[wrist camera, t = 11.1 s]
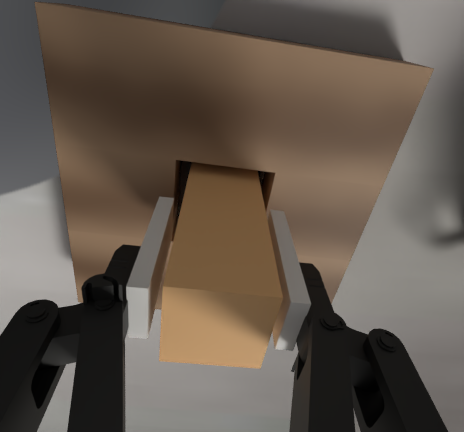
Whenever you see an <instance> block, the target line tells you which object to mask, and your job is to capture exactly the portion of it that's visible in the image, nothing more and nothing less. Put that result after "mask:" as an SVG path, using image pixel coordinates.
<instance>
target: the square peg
mask: <svg viewBox="0 0 464 432" xmlns="http://www.w3.org/2000/svg"><path fill="white" fill-rule="evenodd" d="M282 299H283V295H282V290H281V285H280V280H279V275H278V270H277V265H276V260H275V255H274V250H273V245H272V240H271V235H270V230H269V225H268V220H267V215H266V210H265V205H264V200H263V195H262V190H261V185H260V180H259V175H258V170H250V169H243V168H235V167H227V166H220V165H212V164H204V163H197V162H192V163H191V167H190V172H189V176H188V180H187V184H186V189H185V193H184V197H183V202H182V206H181V210H180V214H179V219H178V223H177V227H176V232H175V236H174V240H173V244H172V249H171V253H170V257H169V262H168V266H167V270H166V274H165V279H164V283H163V291H162V313H161V335H160V357H159V361H165V362H179V363H192V364H206V365H219V366H233V367H246V368H261V365H262V362H263V358H264V355H265V352H266V349H267V346H268V343H269V340H270V337H271V334H272V330H273V327H274V324H275V321H276V318H277V315H278V312H279V309H280V306H281V302H282Z"/></svg>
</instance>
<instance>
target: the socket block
mask: <svg viewBox="0 0 464 432" xmlns="http://www.w3.org/2000/svg"><path fill="white" fill-rule="evenodd" d="M35 8H36V14H37V21H38V29H39V35H40V42H41V49H42V56H43V62H44V70H45V76H46V83H47V90H48V96H49V104H50V111H51V117H52V124H53V131H54V138H55V145H56V152H57V159H58V165H59V172H60V179H61V186H62V193H63V200H64V207H65V213H66V220H67V227H68V234H69V241H70V248H71V254H72V261H73V268H74V275H75V282H76V289H77V295H78V302H83V298H82V290H81V288H82V285H83V283H84V282H85V281H86V280H87V279H88V278H90V277H92V276H94V275H98V274H104V273H105V271H106V269H107V267H108V265H109V263H110V261H111V258H112V256H113V254H114V252H115V251H116V250H117V249H118V248H119V247H120V246H122V245H123V244H125V245H135V246H141V245H142V242H143V240H144V237H145V234H146V231H147V229H148V226H149V223H150V221H151V218H152V215H153V212H154V210H155V207H156V204H157V202H158V199H159V196H160V197H169V198H174V208H173V225H172V240H171V244H170V249H169V253H168V257H167V261H166V265H165V269H164V273H163V277H162V281H161V286H160V290H159V294H158V298H157V302H156V306H155V309H161V310H162V291H163V283H164V279H165V274H166V270H167V266H168V262H169V257H170V253H171V249H172V244H173V240H174V236H175V232H176V227H177V223H178V219H179V216H177V212H178V197H179V182H180V167H181V161H189V162H197V163H204V164H212V165H220V166H227V167H235V168H243V169H250V170H258V171H265V176H264V180H263V185H262V189H261V190H262V195H263V200H264V205H265V210H266V215H267V220H268V217H269V213H270V210H277V211H284V213H285V216H286V220H287V223H288V226H289V230H290V233H291V237H292V240H293V244H294V247H295V250H296V254H297V257H298V261H299V262H302V263H311V264H313V265H314V266H315V267H316V268H317V269H318V270H319V272H320V275H321V277H322V281H323V283H324V286H325V288H326V291H327V294H328V297H329V299H330V302H331V303H332V301H333V299H334V296H335V294H336V292H337V290H338V287H339V285H340V283H341V280H342V278H343V276H344V274H345V271H346V269H347V267H348V264H349V262H350V260H351V258H352V255H353V253H354V251H355V248H356V246H357V244H358V242H359V239H360V237H361V235H362V232H363V230H364V228H365V226H366V223H367V221H368V219H369V216H370V214H371V212H372V210H373V207H374V205H375V203H376V200H377V198H378V196H379V194H380V191H381V189H382V187H383V184H384V182H385V180H386V178H387V175H388V173H389V171H390V168H391V166H392V164H393V162H394V159H395V157H396V155H397V152H398V150H399V148H400V146H401V143H402V141H403V139H404V136H405V134H406V132H407V130H408V127H409V125H410V123H411V120H412V118H413V116H414V114H415V111H416V109H417V107H418V104H419V102H420V100H421V98H422V95H423V93H424V91H425V88H426V86H427V84H428V82H429V79H430V77H431V75H432V72H433V70H434V69H433V68H429V67H425V66H422V65H418V64H414V63H410V62H406V61H401V60H395V59H390V58H384V57H378V56H372V55H366V54H360V53H354V52H348V51H342V50H336V49H330V48H324V47H318V46H312V45H306V44H300V43H294V42H289V41H283V40H277V39H271V38H265V37H259V36H253V35H247V34H241V33H235V32H229V31H223V30H217V29H211V28H205V27H199V26H193V25H188V24H181V23H176V22H170V21H163V20H158V19H151V18H145V17H140V16H134V15H128V14H122V13H116V12H110V11H104V10H98V9H92V8H86V7H80V6H75V5H69V4H59V3H44V2H35Z"/></svg>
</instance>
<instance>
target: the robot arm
mask: <svg viewBox="0 0 464 432" xmlns="http://www.w3.org/2000/svg"><path fill="white" fill-rule="evenodd" d="M173 208H174V198H169V197H160V196H159V199H158V202H157V204H156V207H155V210H154V212H153V215H152V218H151V221H150V223H149V226H148V229H147V231H146V234H145V237H144V240H143V242H142V245H141V246H135V245H125V244H123V245H122V246H120V247H119V248H118V249H117V250H116V251H115V252H114V254H113V256H112V258H111V261H110V263H109V265H108V267H107V269H106V271H105V273H104V274H98V275H94V276H92V277H90V278H88V279H87V280H86V281H85V282H84V283H83V285H82V288H81V290H82V298H83V303H80V304H77V305H73V306H67V307H61V308H58V306H57V304H55V303H54V302H53V301H50V300H36V301H33V302H29V303H27V304H26V305H24V306H22V307H21V308H20V309H19V310H18V311H17V312H16V313H15V315H14V316H13V318H12V319H11V321H10V322H9V324H8V325H7V327H6V328H5V330H4V331H3V333H2V334H1V335H0V432H37V430H38V428H39V425H40V423H41V421H42V418H43V416H44V414H45V412H46V409H47V407H48V405H49V402H50V400H51V398H52V395H53V393H54V391H55V388H56V386H57V384H58V382H59V379H60V377H61V375H62V372H63V370H64V368H65V365H66V364H69V363H74V362H76V368H75V376H74V383H73V391H72V399H71V407H70V415H69V423H68V430H67V432H125V337H126V334H127V330H128V337H131V338H144V339H148V335H149V331H150V327H151V323H152V318H153V314H154V310H155V306H156V302H157V298H158V294H159V290H160V286H161V281H162V277H163V273H164V269H165V265H166V261H167V257H168V253H169V249H170V244H171V240H172V225H173ZM268 225H269V230H270V235H271V240H272V245H273V250H274V255H275V260H276V265H277V270H278V275H279V280H280V285H281V290H282V295H283V299H282V302H281V306H280V309H279V312H278V315H277V318H276V321H275V324H274V327H273V330H272V332H273V339H274V346H275V349H280V350H292V351H293V349H294V347H295V344H296V342H297V346H298V351H299V352H298V355H297V357H296V360H295V362H294V365H293V367H292V370H291V371H292V372H294V370H295V374H294V386H293V397H292V409H291V420H290V432H355V423H354V411H355V414H356V418H357V421H358V424H359V427H360V431H361V432H448V430H447V429H446V427H445V425H444V423H443V421H442V419H441V417H440V415H439V413H438V411H437V409H436V407H435V405H434V403H433V401H432V399H431V397H430V395H429V394H428V392H427V390H426V388H425V386H424V384H423V382H422V380H421V378H420V376H419V374H418V372H417V370H416V368H415V366H414V364H413V362H412V360H411V359H410V357H409V355H408V353H407V351H406V349H405V347H404V345H403V344H402V342H401V341H400V339H399V338H397V337H396V336H395V335H394V334H393V333H391V332H389V331H387V330H383V329H373V330H371V331H370V332H369V334H368V335H367V334H365V333H362V332H359V331H356V330H353V329H351V328H349V327H347V326H346V323H345V322H344V320H343V319H342V318H341V317H340V316H339V315H337V314H336V313H334V311H333V308H332V305H331V302H330V299H329V297H328V294H327V291H326V288H325V286H324V283H323V281H322V277H321V275H320V272H319V270H318V269H317V268H316V267H315V266H314V265H313V264H311V263H302V262H299V261H298V257H297V254H296V250H295V247H294V244H293V240H292V237H291V233H290V230H289V226H288V223H287V220H286V216H285V213H284V211H277V210H270V213H269V217H268ZM353 408H354V410H353Z"/></svg>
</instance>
